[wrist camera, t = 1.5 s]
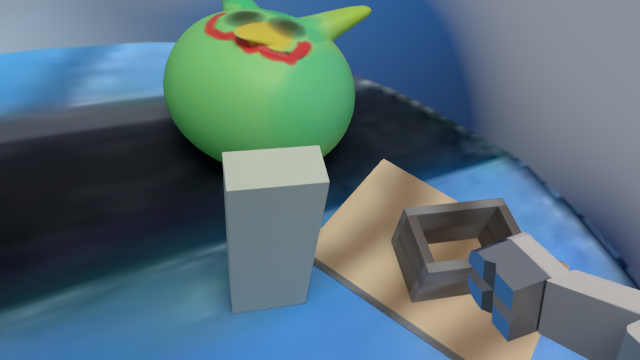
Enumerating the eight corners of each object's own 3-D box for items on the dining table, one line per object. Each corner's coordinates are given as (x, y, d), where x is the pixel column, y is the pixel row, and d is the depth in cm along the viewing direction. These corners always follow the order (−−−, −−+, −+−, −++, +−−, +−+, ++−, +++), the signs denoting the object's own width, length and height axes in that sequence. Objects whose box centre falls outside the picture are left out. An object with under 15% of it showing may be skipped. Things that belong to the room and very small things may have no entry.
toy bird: (142, 164, 49) (111, 36, 38) (220, 68, 60) (214, -54, 49) (313, 226, 47) (335, 109, 36) (363, 114, 57) (392, -3, 46)
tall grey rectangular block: (232, 313, 40) (226, 191, 28) (227, 266, 43) (220, 135, 31) (305, 303, 42) (329, 182, 30) (296, 257, 44) (315, 129, 32)
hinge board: (301, 256, 45) (308, 215, 40) (381, 166, 53) (394, 123, 48) (509, 398, 39) (546, 371, 34) (563, 272, 47) (599, 236, 42)
